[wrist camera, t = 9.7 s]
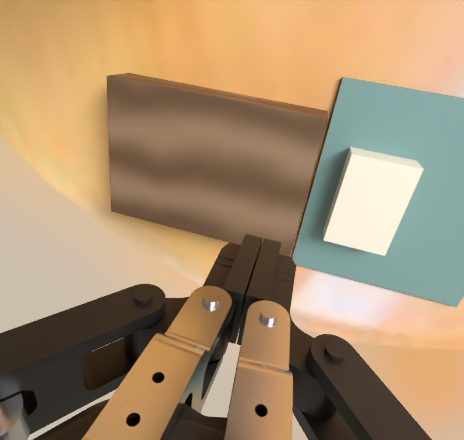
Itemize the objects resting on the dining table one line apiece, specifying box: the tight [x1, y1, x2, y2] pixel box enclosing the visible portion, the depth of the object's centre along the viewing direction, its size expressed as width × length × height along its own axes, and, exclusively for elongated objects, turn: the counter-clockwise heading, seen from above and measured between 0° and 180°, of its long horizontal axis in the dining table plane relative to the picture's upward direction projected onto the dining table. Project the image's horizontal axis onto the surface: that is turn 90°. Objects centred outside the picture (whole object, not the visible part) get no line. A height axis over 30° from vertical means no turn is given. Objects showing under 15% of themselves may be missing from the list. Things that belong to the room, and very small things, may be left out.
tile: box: [323, 147, 424, 256], centre depth 32 cm, size 9×6×2 cm, turn 171°
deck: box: [107, 73, 328, 257], centre depth 34 cm, size 14×20×4 cm
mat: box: [292, 77, 464, 307], centre depth 33 cm, size 20×18×1 cm
